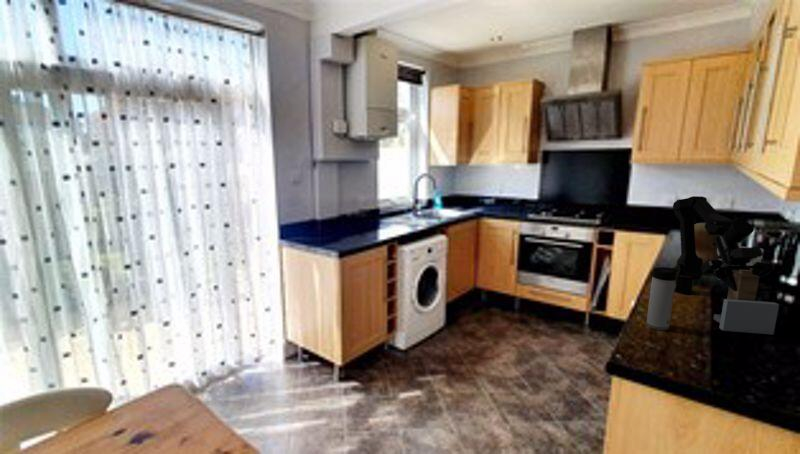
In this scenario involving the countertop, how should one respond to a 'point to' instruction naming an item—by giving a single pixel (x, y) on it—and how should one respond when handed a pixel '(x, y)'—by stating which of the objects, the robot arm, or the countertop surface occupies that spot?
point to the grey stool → (748, 316)
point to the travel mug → (661, 298)
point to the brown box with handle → (744, 286)
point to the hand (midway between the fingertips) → (745, 291)
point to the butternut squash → (705, 243)
